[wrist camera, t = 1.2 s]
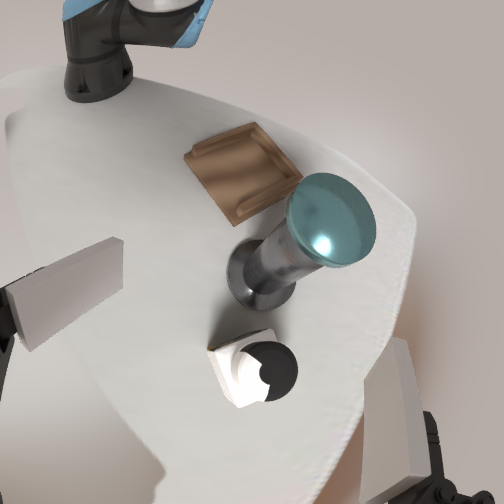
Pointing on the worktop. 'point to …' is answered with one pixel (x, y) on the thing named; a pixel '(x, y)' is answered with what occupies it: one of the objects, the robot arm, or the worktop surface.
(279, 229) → the bobbin post
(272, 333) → the medicine bottle
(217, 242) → the worktop surface
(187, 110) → the worktop surface
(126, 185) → the worktop surface
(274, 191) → the notched board
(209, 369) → the worktop surface
